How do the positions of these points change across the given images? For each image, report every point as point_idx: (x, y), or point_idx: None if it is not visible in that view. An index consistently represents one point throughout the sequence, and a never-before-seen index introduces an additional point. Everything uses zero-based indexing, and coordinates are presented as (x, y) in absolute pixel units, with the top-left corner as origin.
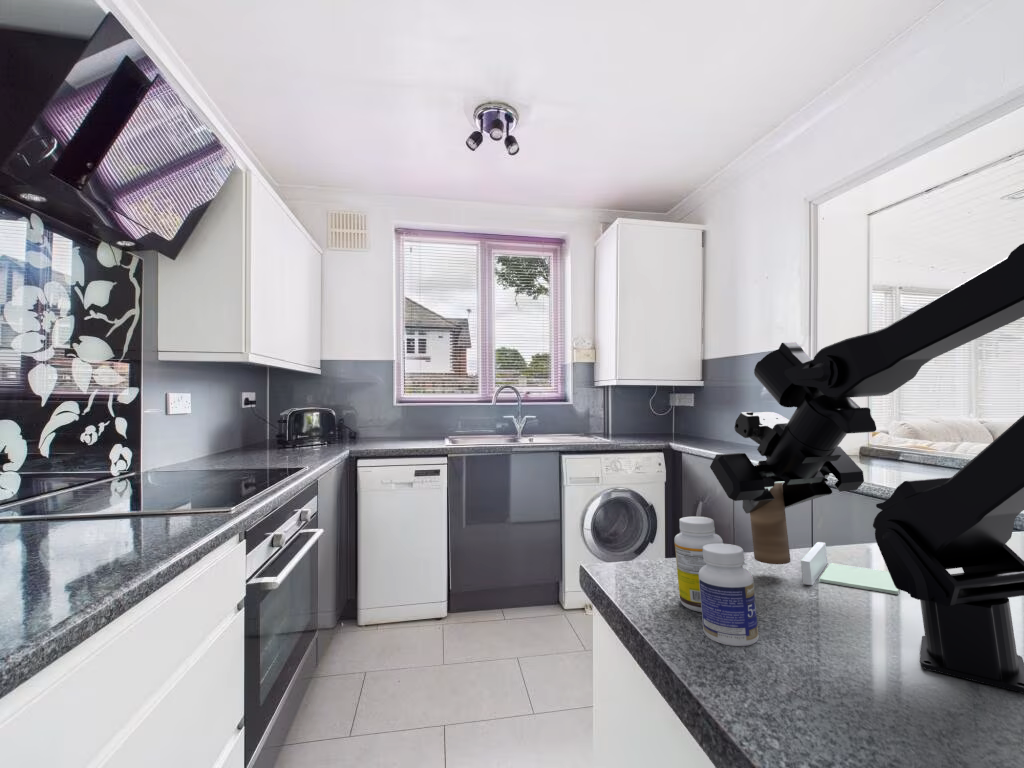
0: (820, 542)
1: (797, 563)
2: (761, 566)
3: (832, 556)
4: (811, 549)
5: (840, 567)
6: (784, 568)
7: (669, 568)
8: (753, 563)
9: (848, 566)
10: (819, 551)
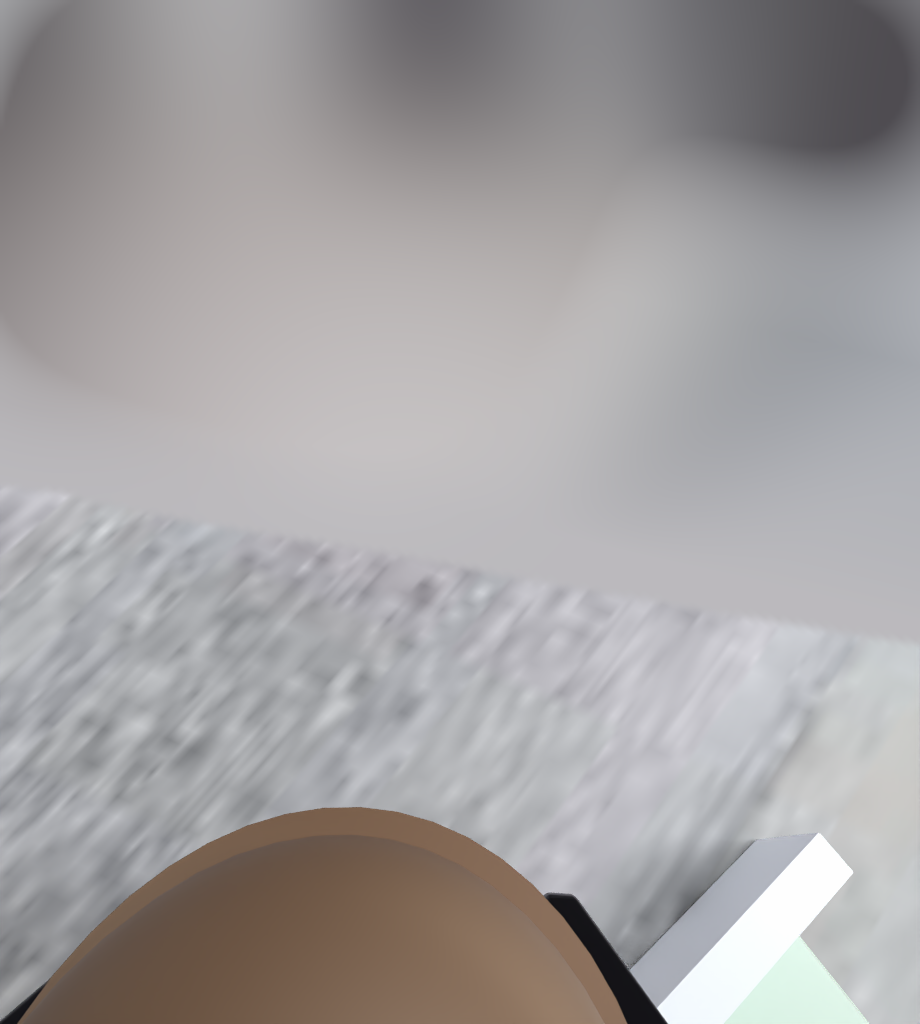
0: (828, 854)
1: (644, 805)
2: (450, 776)
3: (870, 775)
4: (687, 983)
5: (792, 1017)
6: (532, 851)
7: (45, 630)
8: (448, 719)
9: (844, 1020)
10: (721, 1020)
